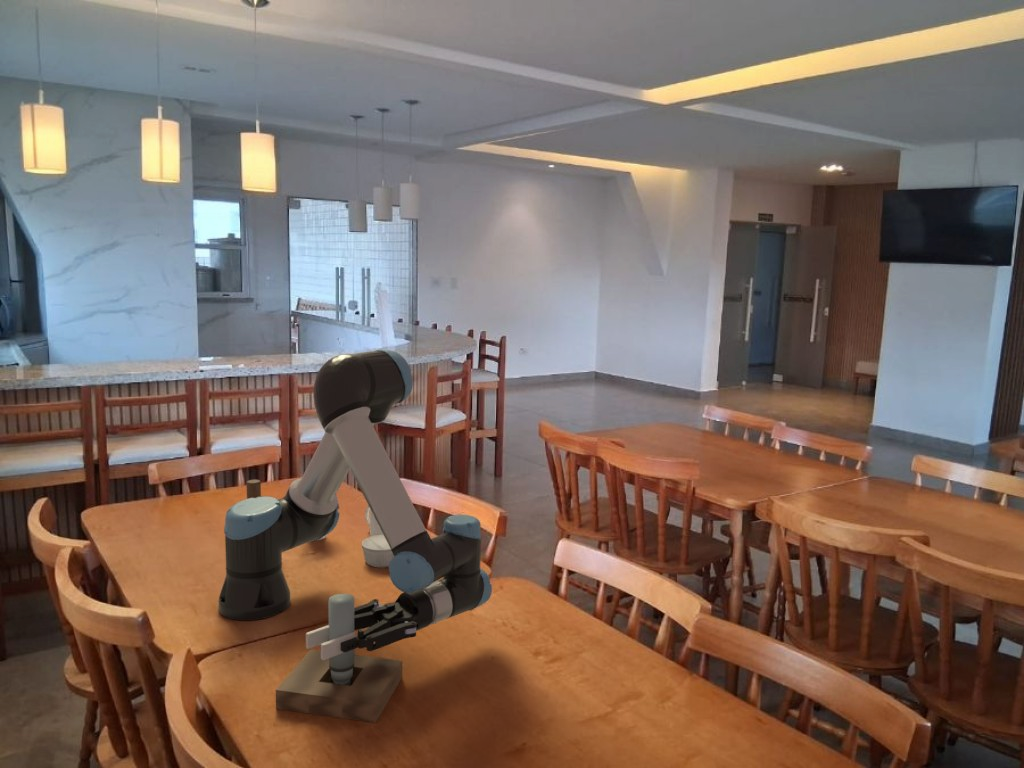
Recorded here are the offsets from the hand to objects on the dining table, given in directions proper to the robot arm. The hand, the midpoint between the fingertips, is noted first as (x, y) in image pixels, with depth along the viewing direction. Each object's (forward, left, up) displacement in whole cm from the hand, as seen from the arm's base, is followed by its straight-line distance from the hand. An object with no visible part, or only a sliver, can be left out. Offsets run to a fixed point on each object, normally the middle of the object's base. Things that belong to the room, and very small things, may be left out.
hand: (314, 646), depth 128 cm
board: (+3, +4, -11) cm, 12 cm away
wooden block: (-44, +62, -11) cm, 77 cm away
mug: (-17, +82, -11) cm, 85 cm away
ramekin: (-10, +63, -11) cm, 65 cm away
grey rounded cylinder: (+3, +4, -9) cm, 10 cm away
